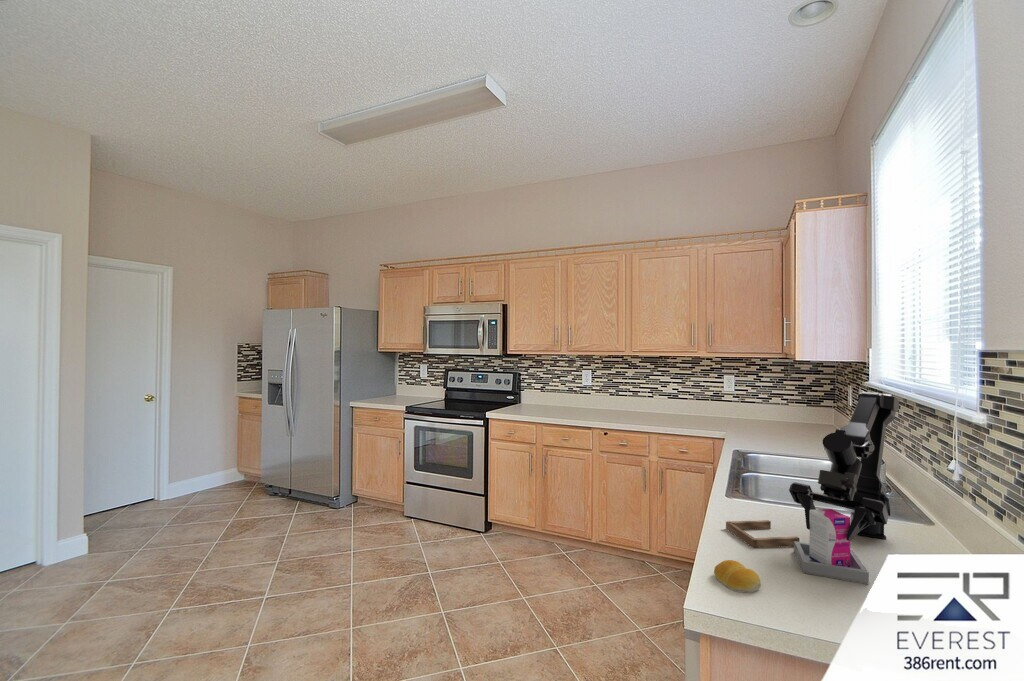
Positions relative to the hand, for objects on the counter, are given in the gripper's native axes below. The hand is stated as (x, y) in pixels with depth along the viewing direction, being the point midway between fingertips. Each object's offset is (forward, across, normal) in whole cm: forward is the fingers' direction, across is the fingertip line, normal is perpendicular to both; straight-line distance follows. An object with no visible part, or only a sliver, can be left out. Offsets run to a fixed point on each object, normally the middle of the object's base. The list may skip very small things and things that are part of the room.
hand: (827, 534), depth 108 cm
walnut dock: (+1, -17, +10) cm, 20 cm away
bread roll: (+22, -10, -10) cm, 26 cm away
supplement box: (+4, 0, +6) cm, 7 cm away
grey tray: (+5, 0, +6) cm, 8 cm away
